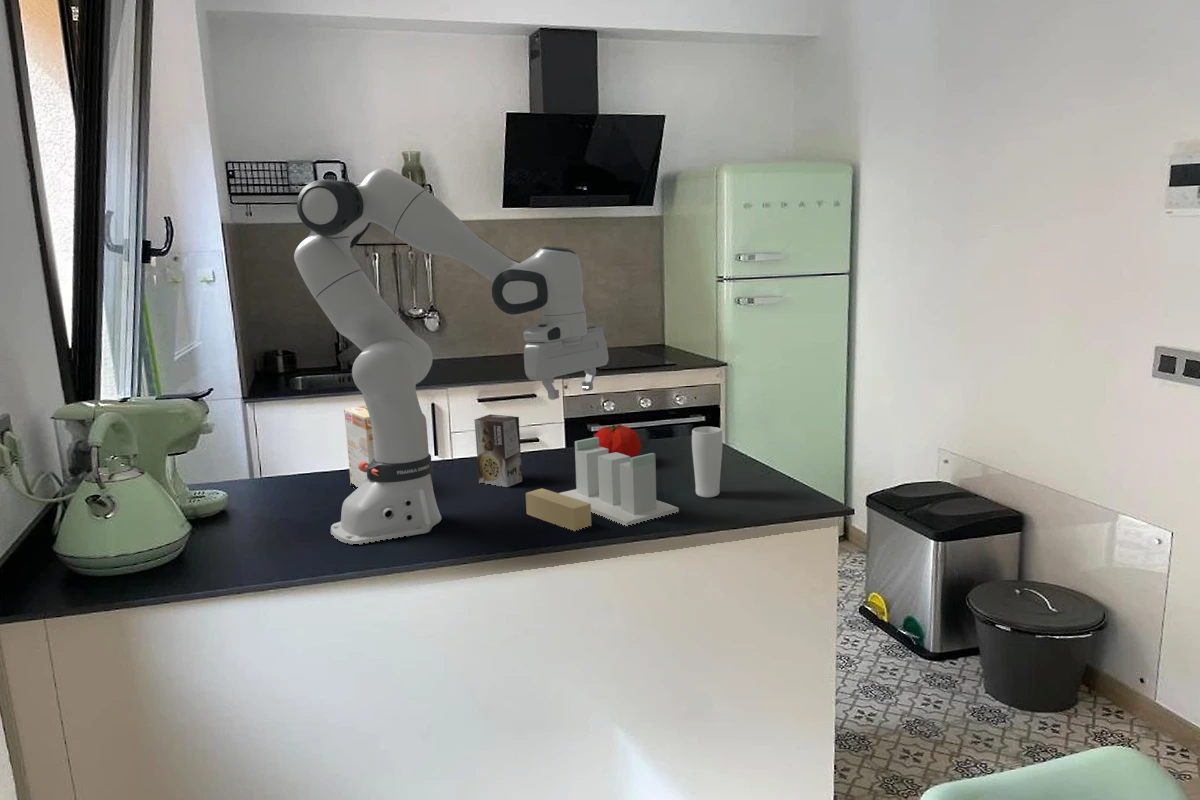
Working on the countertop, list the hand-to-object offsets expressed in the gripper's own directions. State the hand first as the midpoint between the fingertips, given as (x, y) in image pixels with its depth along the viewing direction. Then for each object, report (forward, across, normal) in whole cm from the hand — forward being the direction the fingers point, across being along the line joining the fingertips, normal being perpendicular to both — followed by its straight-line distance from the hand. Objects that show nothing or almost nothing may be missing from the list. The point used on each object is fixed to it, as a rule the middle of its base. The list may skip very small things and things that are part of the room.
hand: (571, 394), depth 177 cm
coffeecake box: (+24, +18, -53) cm, 61 cm away
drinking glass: (+28, -29, +10) cm, 42 cm away
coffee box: (+26, -5, -35) cm, 43 cm away
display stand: (+27, -10, 0) cm, 29 cm away
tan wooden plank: (+26, +4, -3) cm, 27 cm away
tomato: (+27, -34, -23) cm, 49 cm away
